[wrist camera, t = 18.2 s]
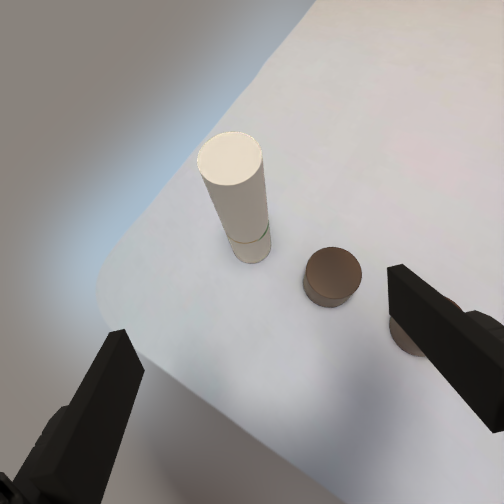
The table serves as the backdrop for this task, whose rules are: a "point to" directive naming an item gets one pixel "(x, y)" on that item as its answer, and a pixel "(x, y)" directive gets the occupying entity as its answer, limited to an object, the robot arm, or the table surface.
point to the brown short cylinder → (406, 337)
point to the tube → (238, 192)
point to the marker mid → (331, 276)
